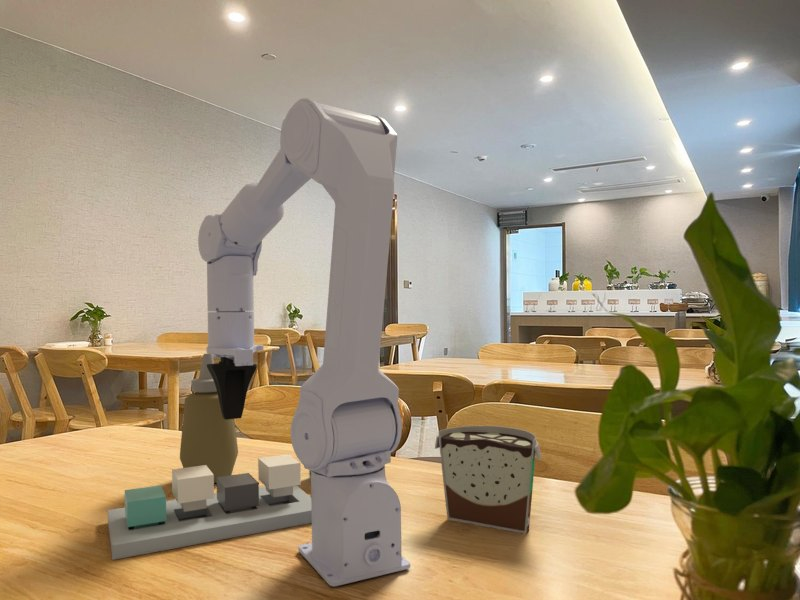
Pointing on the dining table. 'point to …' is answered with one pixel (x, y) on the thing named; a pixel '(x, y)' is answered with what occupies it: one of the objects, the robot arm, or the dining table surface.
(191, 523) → the selector panel
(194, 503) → the middle ivory key
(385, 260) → the robot arm
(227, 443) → the squeeze bottle
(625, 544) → the dining table surface
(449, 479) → the food container
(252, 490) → the dark gray key
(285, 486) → the near ivory key
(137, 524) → the teal key
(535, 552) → the dining table surface
